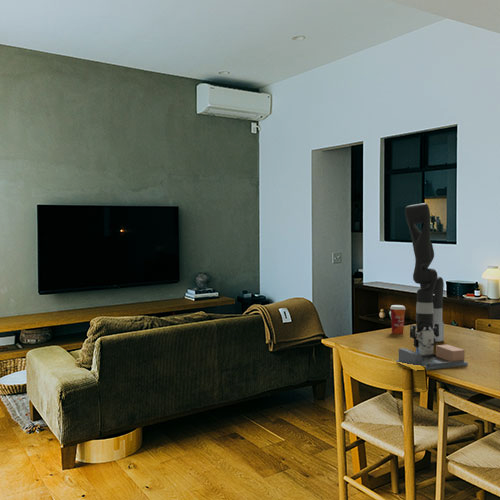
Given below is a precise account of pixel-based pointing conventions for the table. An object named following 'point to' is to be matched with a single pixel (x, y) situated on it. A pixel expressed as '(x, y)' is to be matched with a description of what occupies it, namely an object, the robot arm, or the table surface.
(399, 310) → the coffee cup
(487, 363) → the table surface
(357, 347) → the table surface
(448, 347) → the pink rectangular block
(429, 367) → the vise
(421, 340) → the ink box
